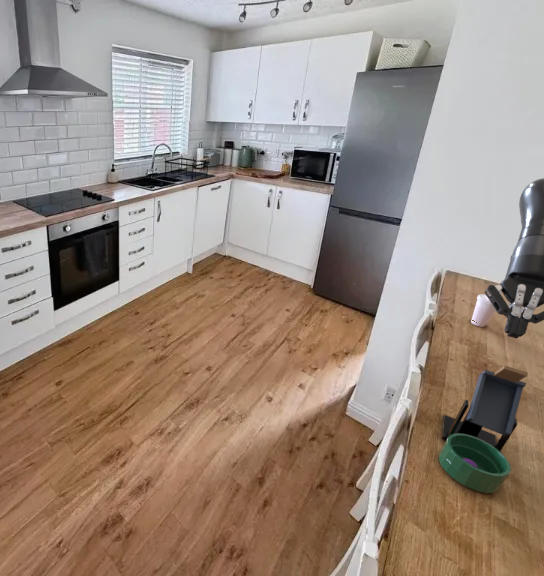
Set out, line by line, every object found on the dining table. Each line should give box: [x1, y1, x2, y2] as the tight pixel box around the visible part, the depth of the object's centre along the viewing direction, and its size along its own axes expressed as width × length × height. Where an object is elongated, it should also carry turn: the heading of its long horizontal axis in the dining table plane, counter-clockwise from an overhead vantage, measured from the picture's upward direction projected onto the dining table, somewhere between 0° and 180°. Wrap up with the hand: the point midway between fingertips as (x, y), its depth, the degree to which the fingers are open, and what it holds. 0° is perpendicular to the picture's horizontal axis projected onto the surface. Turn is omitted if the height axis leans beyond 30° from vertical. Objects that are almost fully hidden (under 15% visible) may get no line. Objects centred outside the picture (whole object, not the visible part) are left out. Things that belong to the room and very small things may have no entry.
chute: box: [466, 365, 529, 436], centre depth 68 cm, size 10×6×8 cm
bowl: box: [438, 433, 512, 494], centre depth 69 cm, size 9×9×5 cm
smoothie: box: [470, 293, 497, 328], centre depth 121 cm, size 6×6×14 cm
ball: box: [462, 458, 478, 468], centre depth 69 cm, size 3×3×3 cm
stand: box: [441, 399, 518, 452], centre depth 75 cm, size 9×9×10 cm
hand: (513, 336), depth 73 cm, fingers closed
